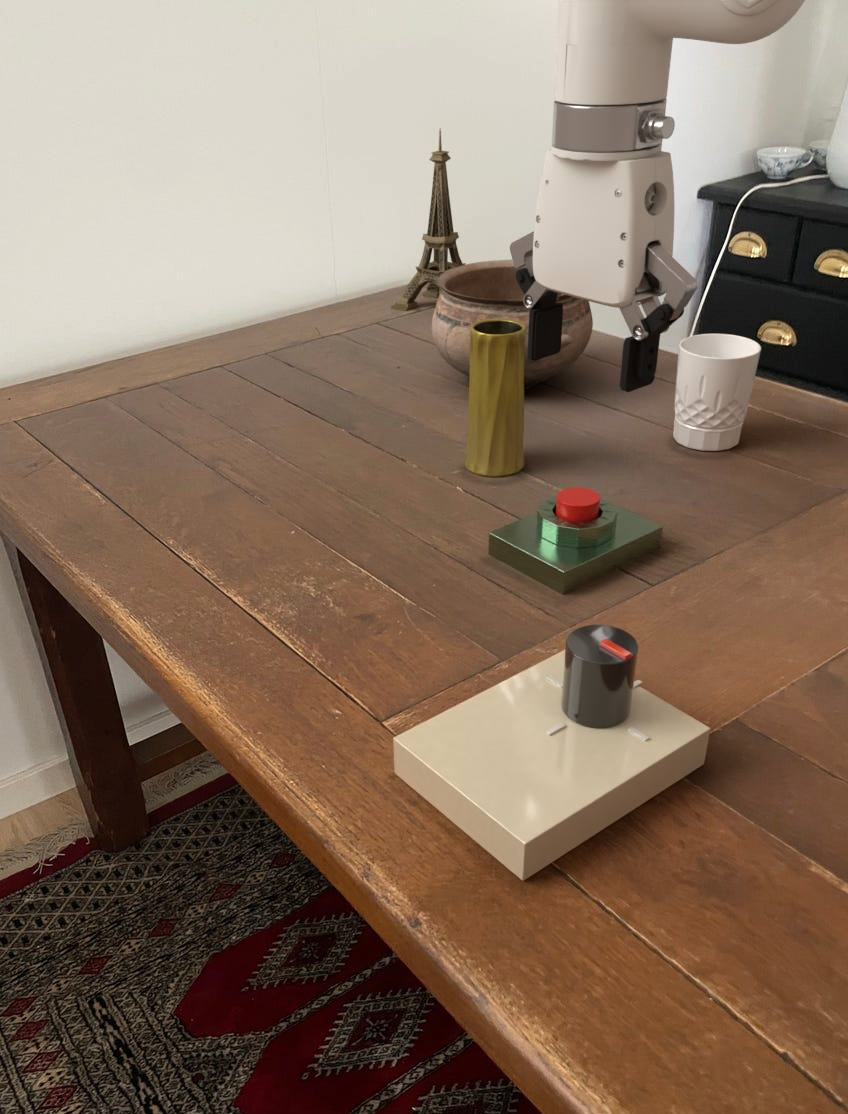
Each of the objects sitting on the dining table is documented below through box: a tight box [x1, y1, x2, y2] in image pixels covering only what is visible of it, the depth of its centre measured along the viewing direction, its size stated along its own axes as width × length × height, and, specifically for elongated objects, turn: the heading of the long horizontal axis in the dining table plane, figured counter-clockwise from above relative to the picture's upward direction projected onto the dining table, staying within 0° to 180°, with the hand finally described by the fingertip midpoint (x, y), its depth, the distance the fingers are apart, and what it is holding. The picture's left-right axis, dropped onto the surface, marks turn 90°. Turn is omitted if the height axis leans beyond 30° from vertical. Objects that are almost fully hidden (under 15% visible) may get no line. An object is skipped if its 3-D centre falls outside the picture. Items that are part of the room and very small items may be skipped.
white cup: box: [672, 333, 762, 452], centre depth 105 cm, size 8×8×10 cm
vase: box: [464, 319, 526, 478], centre depth 101 cm, size 6×6×14 cm
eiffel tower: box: [390, 129, 467, 312], centre depth 146 cm, size 11×11×25 cm
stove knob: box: [561, 624, 639, 728], centre depth 65 cm, size 4×4×5 cm
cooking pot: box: [431, 259, 594, 390], centre depth 122 cm, size 25×19×12 cm
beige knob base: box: [392, 649, 711, 882], centre depth 65 cm, size 16×12×3 cm
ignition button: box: [556, 486, 601, 522], centre depth 87 cm, size 4×4×2 cm
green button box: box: [488, 495, 664, 596], centre depth 88 cm, size 12×9×4 cm
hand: (588, 371), depth 80 cm, fingers open, 9 cm apart
